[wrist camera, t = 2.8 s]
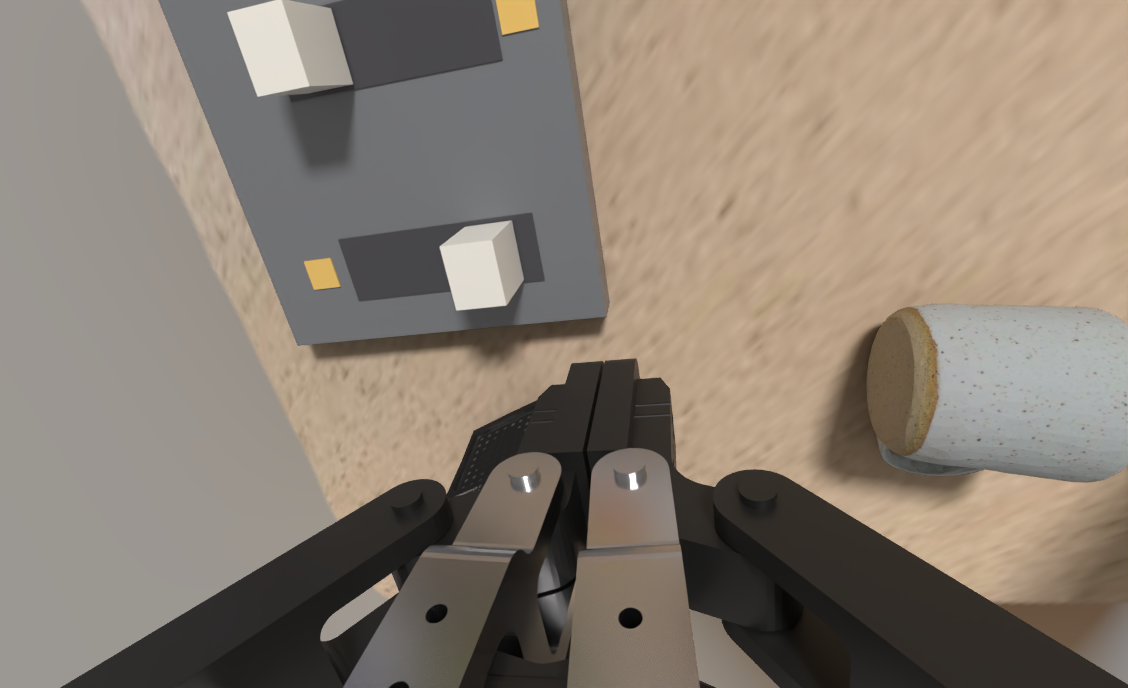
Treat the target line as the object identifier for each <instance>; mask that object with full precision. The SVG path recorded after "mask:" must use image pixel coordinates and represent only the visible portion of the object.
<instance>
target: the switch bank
mask: <svg viewBox="0 0 1128 688" xmlns="http://www.w3.org/2000/svg"><path fill="white" fill-rule="evenodd" d="M270 1H274V0H159V3H160V5H161V8H162V10H163V13H164V15H165V18H166V20H167V23H168V25H169V28H170V30H171V33H172V35H173V37H174V40H175V42H176V45H177V47H178V50H179V52H180V55H181V57H182V60H183V62H184V65H185V67H186V70H187V72H188V75H189V77H190V80H191V82H192V85H193V87H194V90H195V92H196V95H197V97H198V99H199V102H200V104H201V107H202V109H203V112H204V114H205V117H206V119H207V122H208V124H209V127H210V129H211V132H212V134H213V137H214V139H215V142H216V144H217V147H218V149H219V152H220V154H221V157H222V159H223V162H224V164H225V166H226V169H227V171H228V174H229V176H230V179H231V181H232V184H233V186H234V189H235V191H236V194H237V196H238V199H239V201H240V204H241V206H242V209H243V211H244V214H245V216H246V219H247V221H248V224H249V226H250V228H251V231H252V233H253V236H254V238H255V241H256V243H257V246H258V248H259V251H260V253H261V256H262V258H263V261H264V263H265V266H266V268H267V271H268V273H269V276H270V278H271V281H272V283H273V286H274V288H275V290H276V293H277V295H278V298H279V300H280V303H281V305H282V308H283V310H284V313H285V315H286V318H287V320H288V323H289V325H290V328H291V330H292V333H293V335H294V338H295V340H296V343H297V345H298V346H299V345H310V344H321V343H331V342H342V341H353V340H363V339H374V338H385V337H395V336H406V335H417V334H427V333H438V332H448V331H459V330H470V329H480V328H491V327H502V326H512V325H523V324H534V323H544V322H555V321H565V320H576V319H587V318H597V317H606V315H607V311H608V307H609V303H610V302H609V295H608V288H607V281H606V274H605V267H604V260H603V253H602V246H601V239H600V232H599V225H598V218H597V211H596V204H595V197H594V190H593V183H592V176H591V169H590V162H589V155H588V148H587V141H586V134H585V127H584V120H583V113H582V106H581V99H580V92H579V85H578V78H577V71H576V64H575V57H574V50H573V43H572V36H571V29H570V22H569V15H568V8H567V1H566V0H290V1H295V2H301V3H306V4H311V5H316V6H322V7H327V8H331V10H332V14H333V17H334V20H335V24H336V27H337V31H338V34H339V37H340V41H341V44H342V48H343V51H344V54H345V58H346V61H347V65H348V68H349V71H350V75H351V78H352V82H353V85H348V86H343V87H338V88H333V89H328V90H323V91H318V92H313V93H309V94H296V95H280V96H264V97H258V96H257V94H256V91H255V88H254V85H253V83H252V80H251V77H250V74H249V72H248V69H247V66H246V63H245V61H244V58H243V55H242V52H241V50H240V47H239V44H238V41H237V39H236V36H235V33H234V30H233V27H232V25H231V22H230V19H229V16H228V14H227V12H230V11H234V10H238V9H242V8H246V7H250V6H254V5H258V4H262V3H266V2H270ZM511 220H512V224H513V228H514V233H515V238H516V243H517V248H518V253H519V257H520V262H521V267H522V272H523V277H524V280H523V282H522V283H521V285H520V286H519V288H518V289H517V291H516V292H515V294H514V295H513V297H512V298H511V300H510V301H509V303H508V304H507V305H506V306H497V307H487V308H477V309H467V310H458V311H456V307H455V303H454V300H453V296H452V292H451V288H450V285H449V281H448V277H447V273H446V270H445V266H444V262H443V258H442V255H441V251H440V246H441V245H442V244H444V243H445V242H446V241H447V240H449V239H450V238H451V237H453V236H454V235H455V234H456V233H458V232H459V231H460V230H462V229H463V228H464V227H467V226H474V225H482V224H489V223H496V222H504V221H511Z"/></svg>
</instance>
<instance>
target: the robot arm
mask: <svg viewBox="0 0 1128 688" xmlns="http://www.w3.org/2000/svg"><path fill="white" fill-rule="evenodd" d="M391 573H392V575H393V577H394V580H395V582H396V585H397V587H398V590H399V593H397V594H396V595H394V596H393V597H392V598H390V599H389V600H388V601H386V602H385V603H384V604H382V605H381V606H379V607H378V608H377V609H375V610H374V611H373V612H371V613H370V614H368V615H367V616H366V617H364V618H363V619H361V620H360V621H359V622H357V623H356V624H354V625H353V626H352V627H350V628H349V629H348V630H346V631H345V632H343V633H342V634H341V635H339V636H338V637H336V638H334V639H332V640H330V641H323V642H322V641H320V633H321V630H322V628H323V625H324V624H325V622H326V621H327V619H328V618H329V617H330V616H331V615H332V614H334V613H335V612H336V611H338V610H339V609H340V608H342V607H343V606H345V605H346V604H348V603H349V602H350V601H352V600H353V599H355V598H356V597H358V596H359V595H361V594H362V593H363V592H365V591H366V590H368V589H369V588H371V587H372V586H373V585H375V584H376V583H378V582H379V581H381V580H382V579H384V578H385V577H386V576H388V575H389V574H391ZM689 609H691V610H695V611H698V612H701V613H704V614H707V615H710V616H713V617H717V618H720V619H722V624H723V626H724V629H725V630H726V632H727V634H728V635H729V636H730V638H731V639H732V640H733V641H734V642H735V643H736V644H737V645H738V646H739V647H740V648H741V649H742V650H743V651H744V652H745V653H746V654H747V655H748V656H749V657H750V658H751V659H752V660H753V661H754V662H755V663H756V664H757V665H758V666H759V667H760V668H761V669H762V670H763V671H764V672H765V673H766V674H767V675H768V676H769V677H770V678H771V679H772V680H773V681H774V682H775V683H776V684H777V685H778V686H779V687H780V688H1128V684H1126V683H1124V682H1122V681H1121V680H1119V679H1118V678H1116V677H1114V676H1113V675H1111V674H1109V673H1108V672H1106V671H1105V670H1103V669H1101V668H1100V667H1098V666H1096V665H1095V664H1093V663H1091V662H1090V661H1088V660H1086V659H1085V658H1083V657H1082V656H1080V655H1078V654H1077V653H1075V652H1073V651H1072V650H1070V649H1068V648H1067V647H1065V646H1063V645H1062V644H1060V643H1058V642H1057V641H1055V640H1054V639H1052V638H1050V637H1049V636H1047V635H1045V634H1044V633H1042V632H1040V631H1039V630H1037V629H1035V628H1034V627H1032V626H1031V625H1029V624H1027V623H1026V622H1024V621H1022V620H1021V619H1019V618H1017V617H1016V616H1014V615H1012V614H1011V613H1009V612H1008V611H1006V610H1004V609H1003V608H1001V607H999V606H998V605H996V604H994V603H993V602H991V601H989V600H988V599H986V598H984V597H983V596H981V595H980V594H978V593H976V592H975V591H973V590H971V589H970V588H968V587H966V586H965V585H963V584H961V583H960V582H958V581H956V580H955V579H953V578H952V577H950V576H948V575H947V574H945V573H943V572H942V571H940V570H938V569H937V568H935V567H933V566H932V565H930V564H929V563H927V562H925V561H924V560H922V559H920V558H919V557H917V556H915V555H914V554H912V553H910V552H909V551H907V550H905V549H904V548H902V547H901V546H899V545H897V544H896V543H894V542H892V541H891V540H889V539H887V538H886V537H884V536H882V535H881V534H879V533H877V532H876V531H874V530H873V529H871V528H869V527H868V526H866V525H864V524H863V523H861V522H859V521H858V520H856V519H854V518H853V517H851V516H850V515H848V514H846V513H845V512H843V511H841V510H840V509H838V508H836V507H835V506H833V505H831V504H830V503H828V502H826V501H825V500H823V499H822V498H820V497H818V496H817V495H815V494H813V493H812V492H810V491H808V490H807V489H805V488H803V487H802V486H800V485H799V484H797V483H795V482H794V481H792V480H790V479H789V478H787V477H785V476H783V475H780V474H778V473H774V472H771V471H765V470H743V471H738V472H735V473H732V474H730V475H727V476H726V477H724V478H723V479H721V480H720V481H719V482H718V483H717V485H716V486H715V487H712V486H707V485H703V484H699V483H696V482H694V481H691V480H689V479H687V478H685V477H684V476H683V475H681V474H680V473H679V472H678V471H677V470H676V445H675V435H674V425H673V415H672V405H671V395H670V388H669V387H668V386H667V385H666V384H665V383H664V381H663V380H662V379H661V378H649V379H640V376H639V369H638V362H637V359H623V360H610V361H605V363H604V362H603V361H598V362H585V363H572V364H571V367H570V370H569V374H568V377H567V380H566V383H565V384H562V385H551V386H550V387H549V388H548V389H547V390H546V391H545V392H544V393H543V394H542V395H540V396H539V397H538V400H537V403H536V405H535V408H534V413H532V416H531V418H530V424H528V426H527V429H526V431H525V434H524V437H523V439H522V442H521V444H520V447H519V450H518V452H517V455H515V456H513V457H510V458H508V459H506V460H505V461H503V462H501V463H500V464H499V465H498V466H496V467H495V468H494V470H493V471H492V472H491V474H490V475H489V477H488V479H487V481H486V483H485V485H484V487H483V489H481V490H478V491H475V492H471V493H467V494H463V495H459V496H455V497H451V498H448V497H447V494H446V491H445V488H444V487H443V486H442V485H441V484H440V483H439V482H437V481H434V480H429V479H420V480H413V481H409V482H406V483H403V484H400V485H398V486H396V487H394V488H392V489H390V490H389V491H387V492H385V493H384V494H382V495H380V496H379V497H377V498H375V499H374V500H372V501H370V502H369V503H367V504H365V505H364V506H362V507H360V508H359V509H357V510H356V511H354V512H352V513H351V514H349V515H347V516H346V517H344V518H342V519H341V520H339V521H337V522H336V523H334V524H333V525H331V526H329V527H327V528H326V529H324V530H322V531H321V532H319V533H317V534H316V535H314V536H312V537H311V538H309V539H307V540H306V541H304V542H302V543H301V544H299V545H297V546H296V547H294V548H292V549H291V550H289V551H287V552H286V553H284V554H282V555H281V556H279V557H277V558H276V559H274V560H273V561H271V562H269V563H267V564H266V565H264V566H262V567H261V568H259V569H257V570H256V571H254V572H252V573H251V574H249V575H247V576H246V577H244V578H242V579H241V580H239V581H237V582H236V583H234V584H232V585H231V586H229V587H227V588H226V589H224V590H222V591H221V592H219V593H217V594H216V595H214V596H212V597H211V598H209V599H207V600H206V601H204V602H202V603H201V604H199V605H197V606H196V607H194V608H192V609H191V610H189V611H187V612H186V613H184V614H182V615H181V616H179V617H177V618H176V619H174V620H172V621H171V622H169V623H167V624H166V625H164V626H162V627H161V628H159V629H157V630H156V631H154V632H152V633H151V634H149V635H147V636H146V637H144V638H142V639H141V640H139V641H137V642H136V643H134V644H132V645H131V646H129V647H128V648H126V649H124V650H122V651H121V652H119V653H117V654H116V655H114V656H113V657H111V658H109V659H108V660H106V661H104V662H102V663H101V664H99V665H97V666H96V667H94V668H93V669H91V670H89V671H88V672H86V673H84V674H82V675H81V676H79V677H77V678H76V679H74V680H72V681H71V682H70V683H68V684H66V685H64V686H62V687H61V688H715V687H713V686H711V685H708V684H706V683H704V682H702V681H699V676H698V669H697V662H696V654H695V647H694V640H693V632H692V626H691V618H690V611H689ZM570 637H571V645H570V658H569V659H565V658H566V654H567V650H568V646H569V642H570Z"/></svg>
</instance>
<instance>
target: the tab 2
mask: <svg viewBox="0 0 1128 688" xmlns="http://www.w3.org/2000/svg"><path fill="white" fill-rule="evenodd" d="M440 251H441V255H442V258H443V262H444V266H445V270H446V273H447V277H448V281H449V285H450V288H451V292H452V296H453V300H454V303H455V307H456V311H458V310H467V309H477V308H487V307H497V306H506V305H507V304H508V303H509V301H510V300H511V298H512V297H513V295H514V294H515V292H516V291H517V289H518V288H519V286H520V285H521V283H522V282H523V280H524V277H523V272H522V267H521V262H520V257H519V253H518V248H517V243H516V238H515V233H514V228H513V224H512V220H511V221H504V222H496V223H489V224H482V225H474V226H467V227H464V228H463V229H462V230H460V231H459V232H458V233H456V234H455V235H454V236H453V237H451V238H450V239H449V240H447V241H446V242H445V243H444V244H442V245H441V246H440Z"/></svg>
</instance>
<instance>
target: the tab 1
mask: <svg viewBox="0 0 1128 688" xmlns="http://www.w3.org/2000/svg"><path fill="white" fill-rule="evenodd" d="M227 14H228V16H229V19H230V22H231V25H232V27H233V30H234V33H235V36H236V39H237V41H238V44H239V47H240V50H241V52H242V55H243V58H244V61H245V63H246V66H247V69H248V72H249V74H250V77H251V80H252V83H253V85H254V88H255V91H256V94H257V96H258V97H264V96H280V95H296V94H309V93H313V92H318V91H323V90H328V89H333V88H338V87H343V86H348V85H353V82H352V78H351V75H350V71H349V68H348V65H347V61H346V58H345V54H344V51H343V48H342V44H341V41H340V37H339V34H338V31H337V27H336V24H335V20H334V17H333V14H332V10H331V8H327V7H322V6H316V5H311V4H306V3H301V2H295V1H290V0H274V1H270V2H266V3H262V4H258V5H254V6H250V7H246V8H242V9H238V10H234V11H230V12H227Z"/></svg>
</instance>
